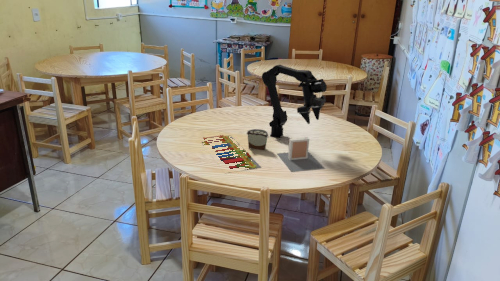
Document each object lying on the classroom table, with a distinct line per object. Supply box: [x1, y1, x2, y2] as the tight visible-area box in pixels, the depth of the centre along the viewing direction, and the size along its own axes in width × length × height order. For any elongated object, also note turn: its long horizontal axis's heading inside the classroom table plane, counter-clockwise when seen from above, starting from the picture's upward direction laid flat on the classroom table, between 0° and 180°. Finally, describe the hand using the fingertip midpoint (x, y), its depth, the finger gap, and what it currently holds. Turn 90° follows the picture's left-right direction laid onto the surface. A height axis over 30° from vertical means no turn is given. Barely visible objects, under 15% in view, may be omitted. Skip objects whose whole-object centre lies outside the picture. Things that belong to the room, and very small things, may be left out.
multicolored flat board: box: [202, 134, 262, 171], centre depth 194 cm, size 45×2×19 cm
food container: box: [246, 128, 269, 151], centre depth 199 cm, size 12×6×10 cm, turn 71°
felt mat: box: [276, 151, 326, 173], centre depth 187 cm, size 22×18×1 cm
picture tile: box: [287, 137, 310, 160], centre depth 187 cm, size 2×10×11 cm, turn 105°
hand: (313, 121), depth 199 cm, fingers open, 9 cm apart
